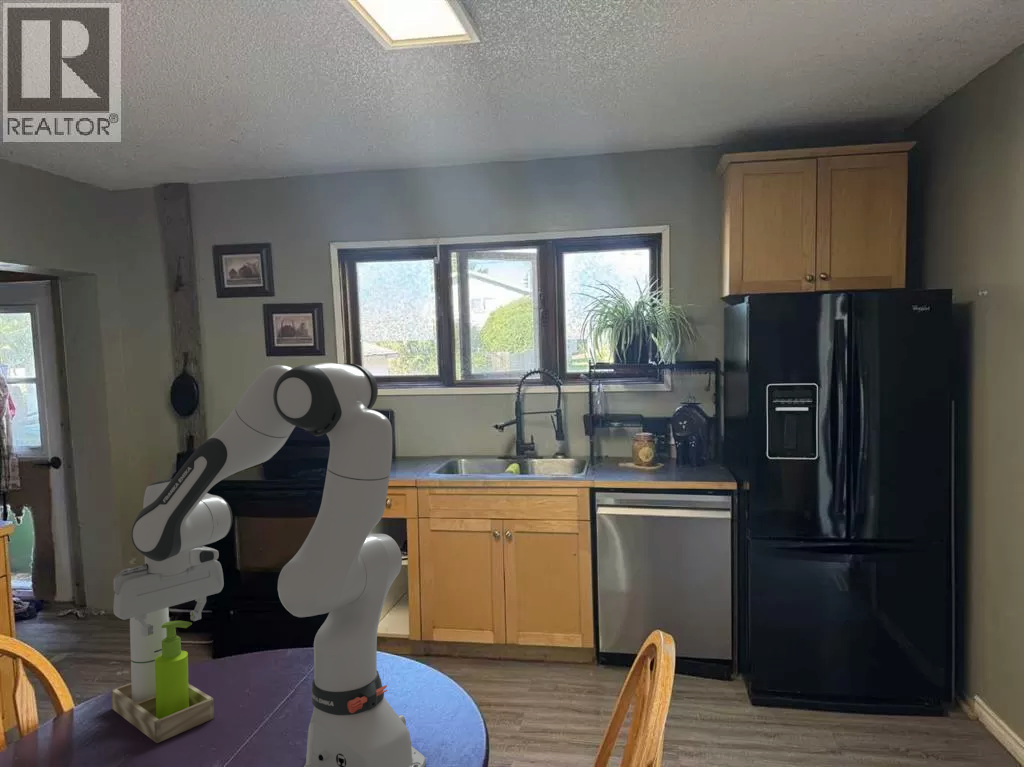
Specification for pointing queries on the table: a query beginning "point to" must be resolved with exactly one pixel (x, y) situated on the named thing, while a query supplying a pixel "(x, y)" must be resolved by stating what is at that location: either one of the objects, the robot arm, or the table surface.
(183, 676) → the soap dispenser
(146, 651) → the cylindrical container
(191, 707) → the frame
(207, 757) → the table surface
